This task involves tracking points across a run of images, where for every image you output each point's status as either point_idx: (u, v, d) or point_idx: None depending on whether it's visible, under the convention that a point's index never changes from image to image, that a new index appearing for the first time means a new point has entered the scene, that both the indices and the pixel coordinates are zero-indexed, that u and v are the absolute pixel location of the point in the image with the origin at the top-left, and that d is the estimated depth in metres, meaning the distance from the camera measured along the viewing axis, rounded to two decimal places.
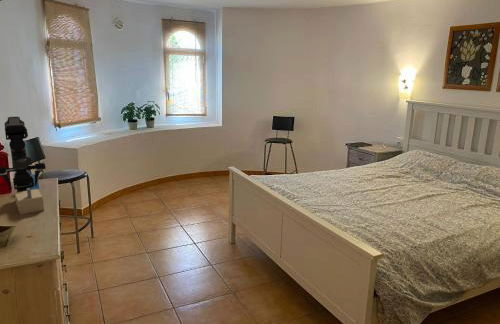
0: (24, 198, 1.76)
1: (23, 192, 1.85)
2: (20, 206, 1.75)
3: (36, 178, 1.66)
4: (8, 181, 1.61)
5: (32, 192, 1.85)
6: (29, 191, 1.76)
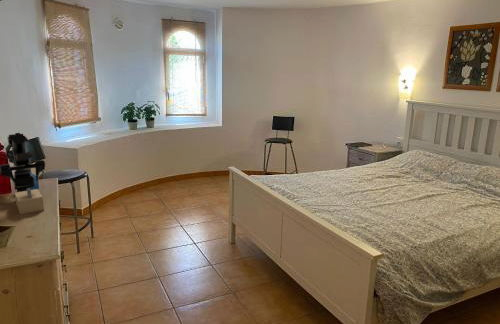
0: (24, 198, 1.76)
1: (23, 192, 1.85)
2: (20, 206, 1.75)
3: (37, 172, 1.84)
4: (12, 176, 1.78)
5: (32, 192, 1.85)
6: (29, 191, 1.76)
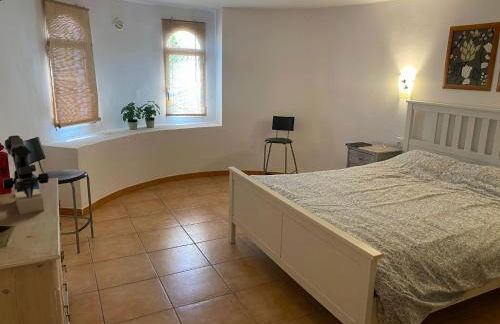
0: (24, 198, 1.76)
1: (23, 192, 1.85)
2: (20, 206, 1.75)
3: (31, 187, 1.78)
4: (24, 188, 1.77)
5: None
6: (29, 191, 1.76)
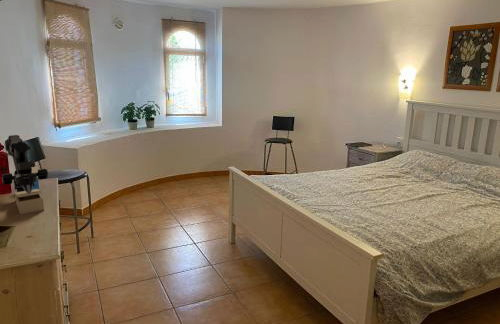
0: (23, 194, 1.76)
1: (23, 191, 1.85)
2: (20, 206, 1.75)
3: (31, 183, 1.78)
4: (24, 184, 1.77)
5: (32, 191, 1.85)
6: (28, 187, 1.76)
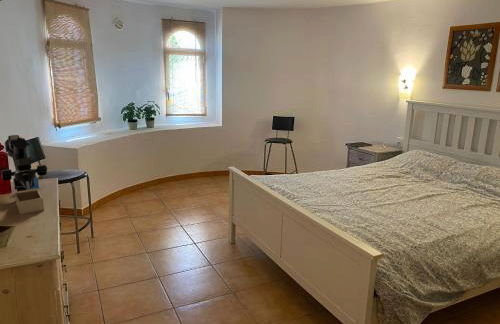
0: None
1: None
2: (20, 206, 1.75)
3: (30, 179, 1.79)
4: (23, 180, 1.77)
5: None
6: (27, 182, 1.77)
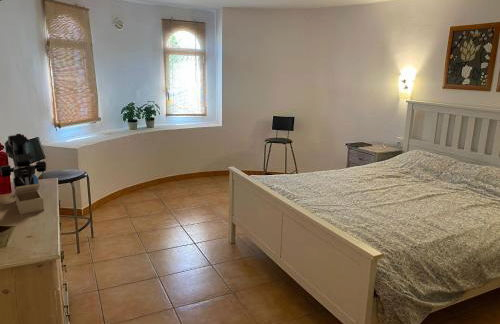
0: None
1: None
2: (20, 206, 1.75)
3: (29, 175, 1.79)
4: (22, 176, 1.78)
5: None
6: (27, 178, 1.77)
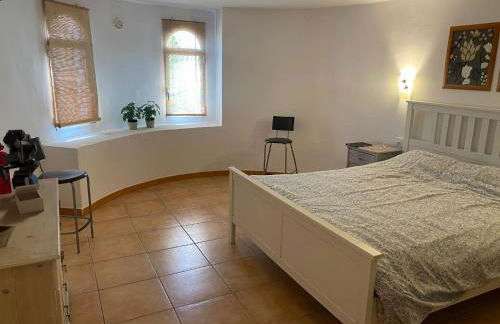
0: None
1: None
2: (20, 206, 1.75)
3: (28, 172, 1.81)
4: (3, 177, 1.79)
5: None
6: (27, 178, 1.77)
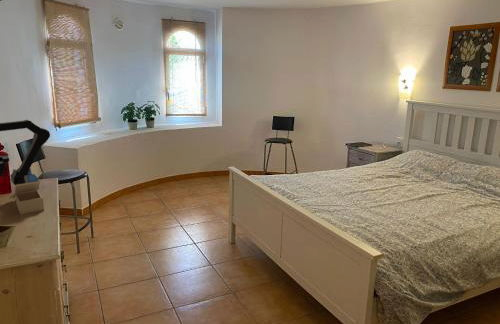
0: None
1: None
2: (20, 206, 1.75)
3: None
4: None
5: None
6: (26, 176, 1.78)
